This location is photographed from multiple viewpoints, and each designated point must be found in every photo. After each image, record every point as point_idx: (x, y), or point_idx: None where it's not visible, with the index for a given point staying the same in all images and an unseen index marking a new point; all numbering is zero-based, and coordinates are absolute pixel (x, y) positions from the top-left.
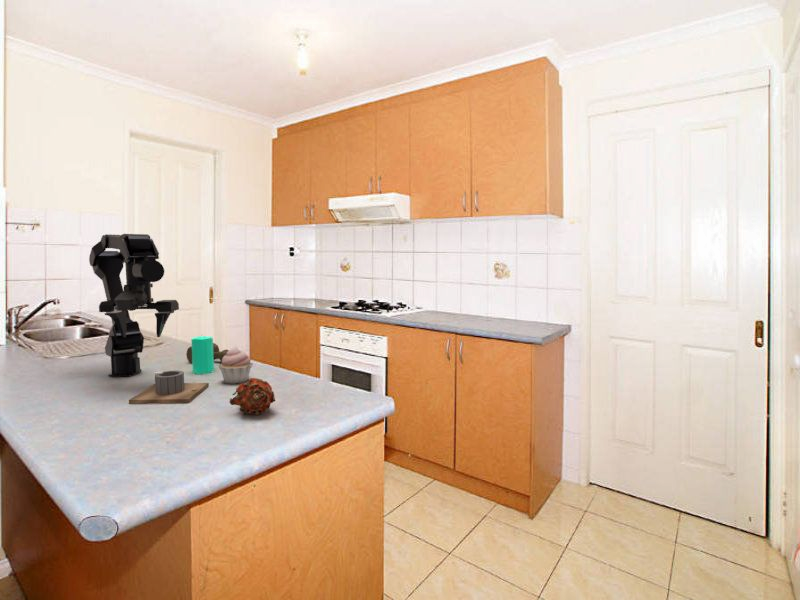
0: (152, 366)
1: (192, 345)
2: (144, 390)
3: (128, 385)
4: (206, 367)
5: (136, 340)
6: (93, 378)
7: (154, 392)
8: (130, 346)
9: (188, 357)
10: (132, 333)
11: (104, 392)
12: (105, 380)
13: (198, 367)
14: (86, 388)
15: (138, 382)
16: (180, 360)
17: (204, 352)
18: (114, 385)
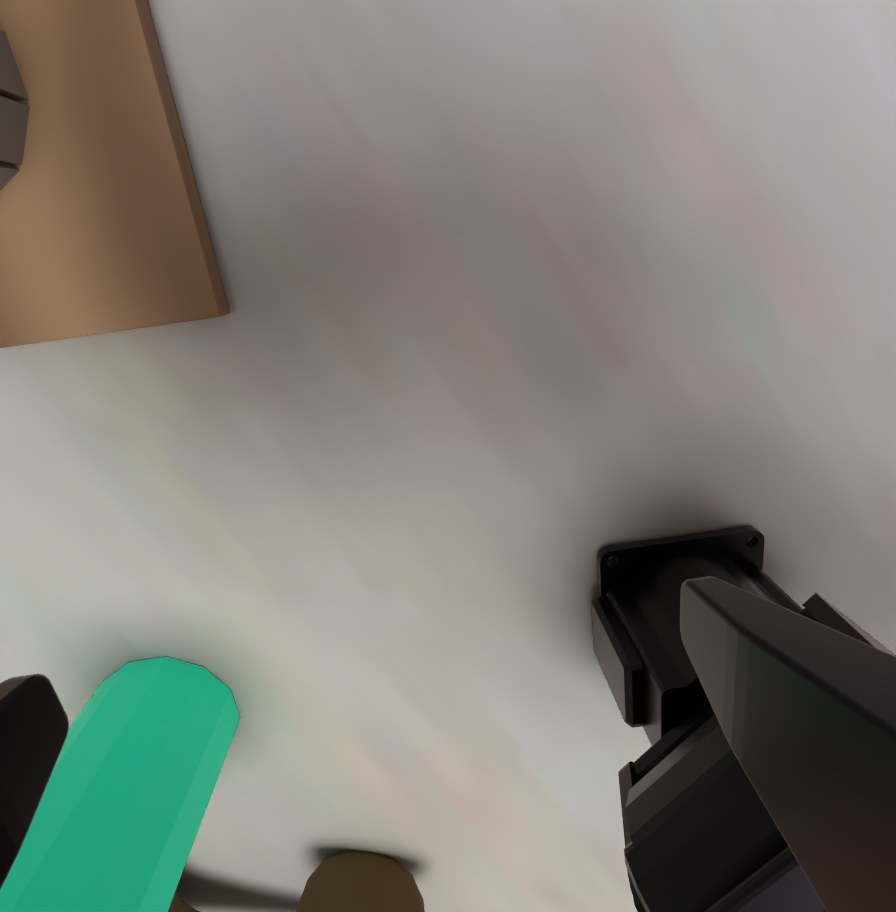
0: (597, 773)
1: (95, 882)
2: (152, 80)
3: (479, 337)
4: (85, 709)
5: (667, 824)
6: (844, 483)
7: (5, 17)
8: (697, 735)
9: (403, 897)
10: (751, 905)
11: (551, 122)
12: (731, 445)
13: (133, 694)
14: (761, 225)
15: (453, 421)
16: (499, 898)
17: None
18: (588, 327)
